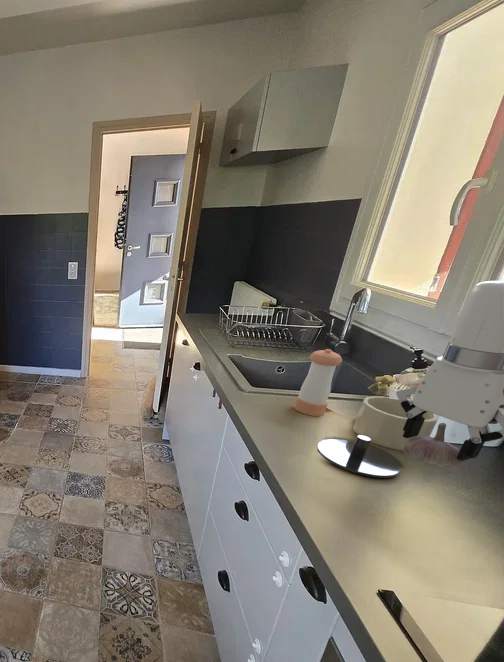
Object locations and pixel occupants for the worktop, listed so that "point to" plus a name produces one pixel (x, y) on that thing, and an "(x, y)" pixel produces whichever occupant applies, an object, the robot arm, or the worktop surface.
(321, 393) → the pepper shaker
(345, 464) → the lid
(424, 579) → the worktop surface
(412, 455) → the garlic bulb
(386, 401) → the bowl
